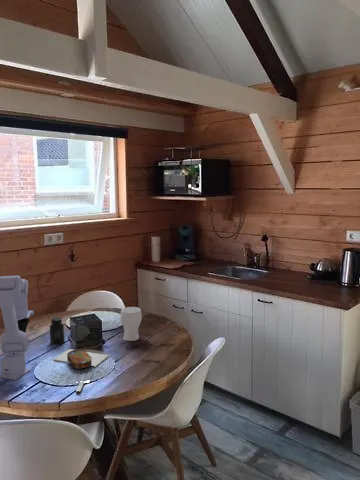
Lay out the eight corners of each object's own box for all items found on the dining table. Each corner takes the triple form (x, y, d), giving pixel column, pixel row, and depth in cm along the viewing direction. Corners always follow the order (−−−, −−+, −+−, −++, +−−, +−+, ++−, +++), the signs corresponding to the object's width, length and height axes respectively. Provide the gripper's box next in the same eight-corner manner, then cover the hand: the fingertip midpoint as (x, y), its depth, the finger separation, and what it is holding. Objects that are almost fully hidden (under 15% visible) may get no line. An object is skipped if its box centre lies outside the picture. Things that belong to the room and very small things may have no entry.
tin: (64, 352, 188) (83, 347, 192) (65, 358, 188) (83, 353, 192) (74, 365, 175) (94, 359, 179) (75, 372, 175) (94, 366, 180)
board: (95, 367, 180) (95, 366, 180) (53, 360, 186) (53, 359, 186) (108, 356, 191) (108, 355, 191) (69, 350, 198) (68, 349, 198)
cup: (143, 334, 218) (143, 306, 215) (139, 342, 207) (139, 313, 205) (123, 334, 219) (123, 306, 216) (118, 341, 208) (118, 312, 206)
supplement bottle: (67, 340, 210) (66, 317, 208) (59, 345, 203) (58, 321, 201) (55, 338, 211) (54, 315, 210) (47, 344, 205) (46, 320, 203)
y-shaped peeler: (84, 393, 158) (84, 391, 158) (71, 393, 158) (71, 391, 158) (93, 373, 175) (93, 371, 175) (81, 373, 175) (81, 371, 175)
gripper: (16, 311, 178) (18, 342, 180) (38, 302, 192) (40, 330, 194) (3, 309, 181) (5, 339, 183) (25, 300, 194) (27, 328, 196)
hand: (22, 335), depth 188 cm, fingers closed
